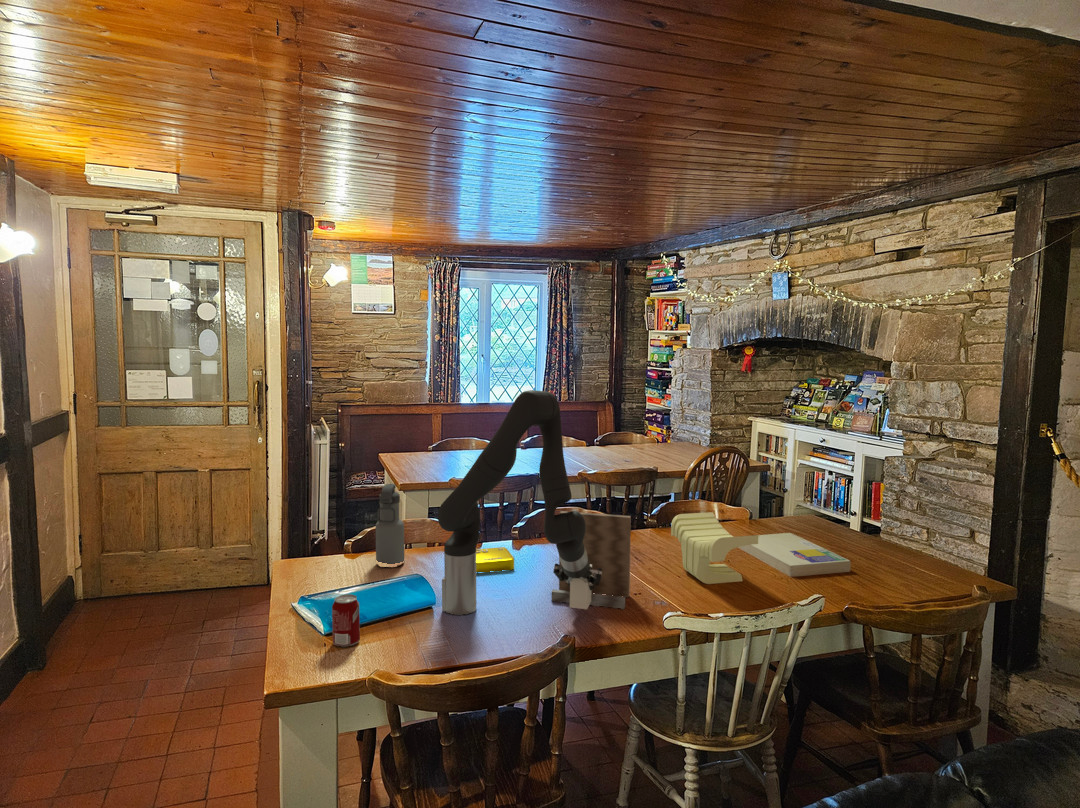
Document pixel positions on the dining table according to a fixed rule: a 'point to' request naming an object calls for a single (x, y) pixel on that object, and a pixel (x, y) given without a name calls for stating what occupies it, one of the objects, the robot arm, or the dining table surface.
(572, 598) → the beige rectangular block
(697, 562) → the slatted curved stool
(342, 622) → the soda can
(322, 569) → the dining table surface
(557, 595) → the wall board
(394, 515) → the water bottle
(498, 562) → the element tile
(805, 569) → the puzzle box
